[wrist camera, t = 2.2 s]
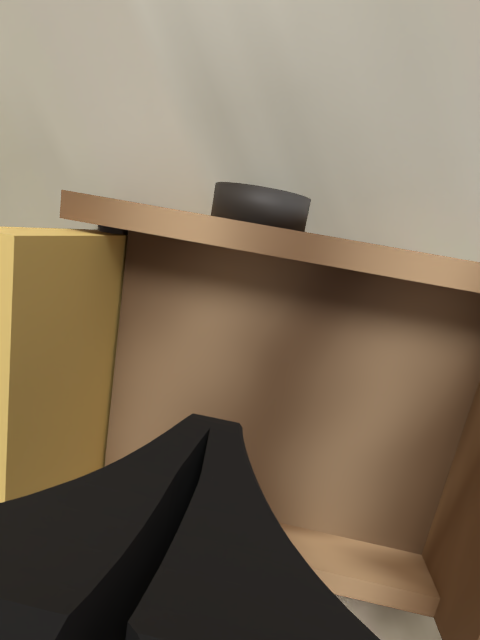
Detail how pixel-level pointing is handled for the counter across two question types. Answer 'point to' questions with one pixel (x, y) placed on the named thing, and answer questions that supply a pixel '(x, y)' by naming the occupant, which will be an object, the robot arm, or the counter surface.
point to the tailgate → (56, 352)
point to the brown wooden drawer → (314, 384)
